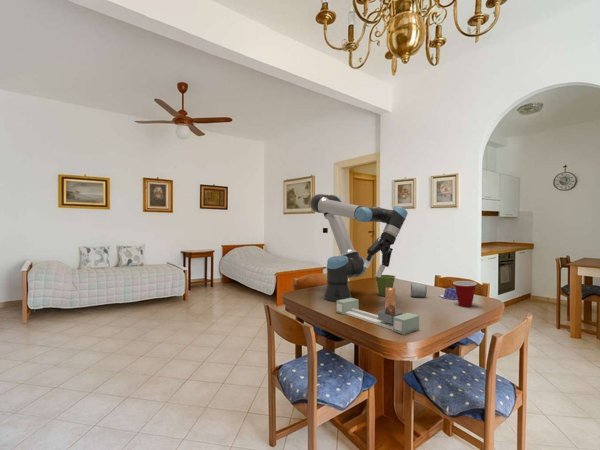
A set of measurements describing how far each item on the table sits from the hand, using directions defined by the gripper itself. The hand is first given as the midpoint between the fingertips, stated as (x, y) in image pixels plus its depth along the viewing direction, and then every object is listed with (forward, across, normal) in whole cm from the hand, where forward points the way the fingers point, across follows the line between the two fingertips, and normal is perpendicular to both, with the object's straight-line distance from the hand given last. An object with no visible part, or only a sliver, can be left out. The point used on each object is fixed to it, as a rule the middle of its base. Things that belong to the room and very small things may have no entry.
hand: (371, 272), depth 154 cm
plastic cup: (-7, +40, -33) cm, 52 cm away
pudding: (-11, +52, -21) cm, 58 cm away
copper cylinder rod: (+17, -10, -24) cm, 31 cm away
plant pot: (+5, +34, +6) cm, 35 cm away
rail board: (+20, -8, -16) cm, 27 cm away
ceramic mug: (-3, +43, -7) cm, 44 cm away
